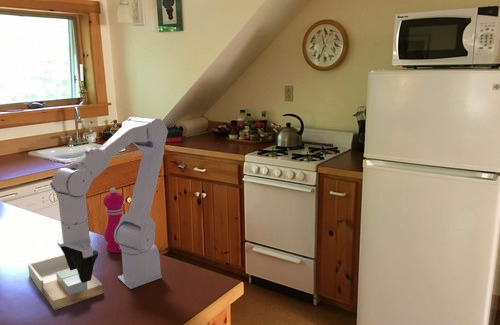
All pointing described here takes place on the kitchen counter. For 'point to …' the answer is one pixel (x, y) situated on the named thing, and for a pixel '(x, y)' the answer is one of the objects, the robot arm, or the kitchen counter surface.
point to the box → (47, 269)
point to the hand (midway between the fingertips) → (80, 274)
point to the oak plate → (62, 298)
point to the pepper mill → (113, 218)
